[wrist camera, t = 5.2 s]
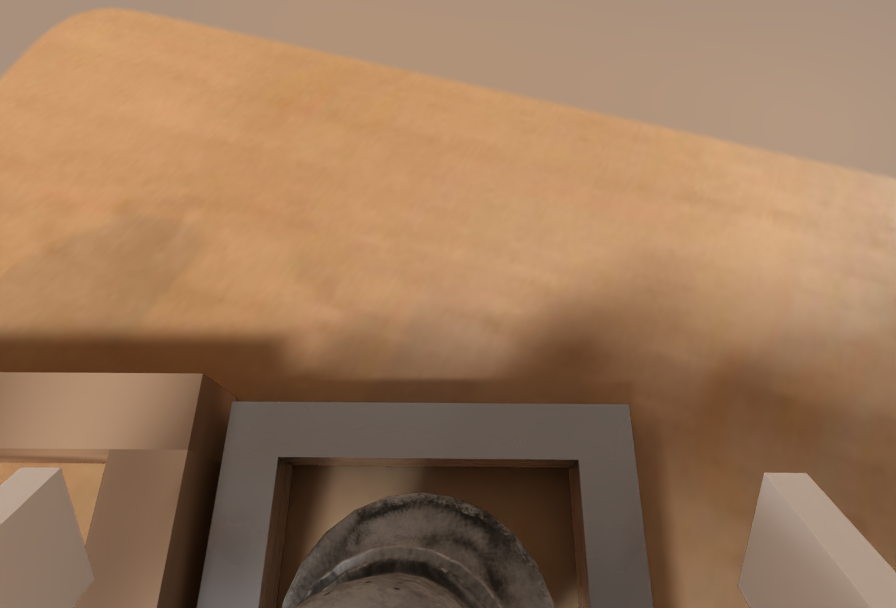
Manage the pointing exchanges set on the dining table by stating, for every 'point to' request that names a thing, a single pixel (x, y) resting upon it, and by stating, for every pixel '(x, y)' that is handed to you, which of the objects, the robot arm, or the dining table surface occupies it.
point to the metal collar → (425, 444)
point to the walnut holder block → (129, 471)
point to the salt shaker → (418, 560)
